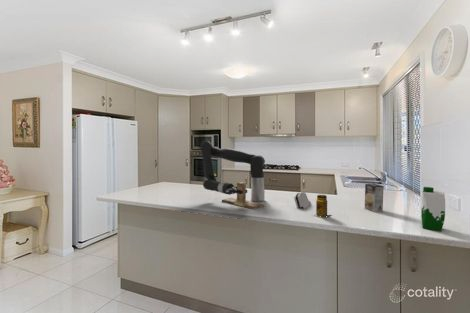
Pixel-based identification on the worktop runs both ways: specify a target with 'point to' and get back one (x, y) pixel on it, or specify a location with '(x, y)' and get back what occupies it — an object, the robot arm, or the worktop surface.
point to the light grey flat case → (301, 200)
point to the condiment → (321, 205)
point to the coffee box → (374, 197)
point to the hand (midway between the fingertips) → (244, 191)
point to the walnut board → (250, 205)
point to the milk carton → (433, 209)
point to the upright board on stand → (241, 195)
